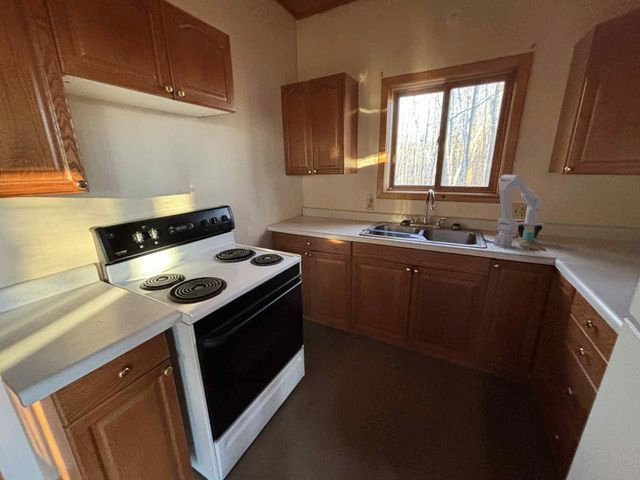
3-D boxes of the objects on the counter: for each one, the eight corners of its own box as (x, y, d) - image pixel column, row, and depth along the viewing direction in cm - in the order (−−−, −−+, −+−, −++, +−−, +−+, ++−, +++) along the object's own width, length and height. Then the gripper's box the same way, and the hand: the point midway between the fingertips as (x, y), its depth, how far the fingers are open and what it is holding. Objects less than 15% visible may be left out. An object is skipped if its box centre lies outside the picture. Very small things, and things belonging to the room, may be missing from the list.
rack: (525, 251, 159) (525, 248, 159) (518, 246, 169) (518, 243, 168) (545, 252, 157) (546, 249, 156) (537, 247, 166) (538, 244, 165)
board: (528, 243, 170) (530, 233, 169) (522, 240, 179) (523, 229, 177) (532, 243, 170) (534, 233, 168) (525, 240, 178) (527, 229, 177)
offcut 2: (525, 249, 159) (526, 245, 159) (522, 247, 164) (523, 243, 163) (529, 250, 159) (530, 245, 158) (526, 248, 163) (527, 243, 162)
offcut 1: (522, 247, 164) (523, 242, 163) (519, 245, 168) (520, 240, 167) (526, 247, 163) (527, 242, 162) (523, 245, 167) (524, 240, 166)
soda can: (518, 237, 189) (521, 220, 185) (507, 235, 194) (509, 219, 191) (522, 236, 193) (525, 219, 189) (511, 234, 198) (513, 218, 195)
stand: (525, 245, 170) (526, 241, 169) (517, 240, 181) (518, 236, 180) (536, 246, 168) (537, 241, 168) (527, 241, 180) (528, 236, 179)
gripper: (520, 217, 168) (517, 238, 172) (548, 217, 165) (544, 239, 168) (516, 215, 175) (512, 235, 178) (542, 215, 171) (538, 236, 175)
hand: (527, 237), depth 174 cm, fingers open, 7 cm apart
